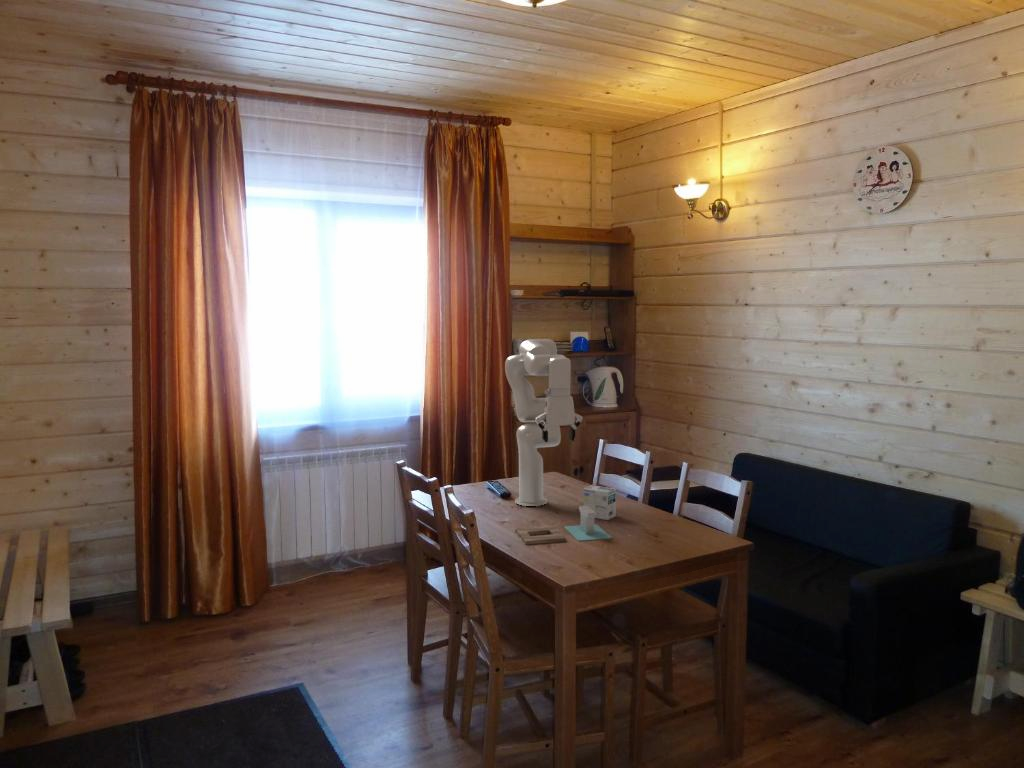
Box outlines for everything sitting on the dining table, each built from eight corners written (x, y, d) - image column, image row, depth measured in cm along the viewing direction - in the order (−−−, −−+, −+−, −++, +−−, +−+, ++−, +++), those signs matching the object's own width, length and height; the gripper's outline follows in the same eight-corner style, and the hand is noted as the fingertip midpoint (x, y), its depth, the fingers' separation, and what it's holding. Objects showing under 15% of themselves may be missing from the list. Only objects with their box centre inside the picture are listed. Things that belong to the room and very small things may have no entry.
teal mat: (563, 527, 270) (563, 526, 270) (596, 524, 273) (596, 524, 273) (578, 541, 255) (578, 540, 255) (612, 538, 257) (612, 537, 257)
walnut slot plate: (515, 532, 265) (515, 528, 265) (553, 528, 268) (553, 525, 268) (525, 544, 252) (525, 541, 251) (565, 541, 255) (565, 537, 255)
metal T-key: (587, 536, 259) (587, 513, 258) (579, 528, 268) (579, 506, 267) (595, 535, 260) (596, 512, 259) (587, 527, 268) (587, 505, 268)
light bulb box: (616, 516, 284) (616, 488, 282) (608, 520, 278) (608, 491, 277) (591, 512, 290) (591, 484, 288) (582, 516, 284) (582, 487, 283)
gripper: (538, 395, 260) (538, 444, 263) (586, 393, 265) (585, 441, 267) (532, 391, 268) (532, 439, 270) (579, 390, 272) (578, 437, 274)
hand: (558, 440), depth 269 cm, fingers open, 9 cm apart
